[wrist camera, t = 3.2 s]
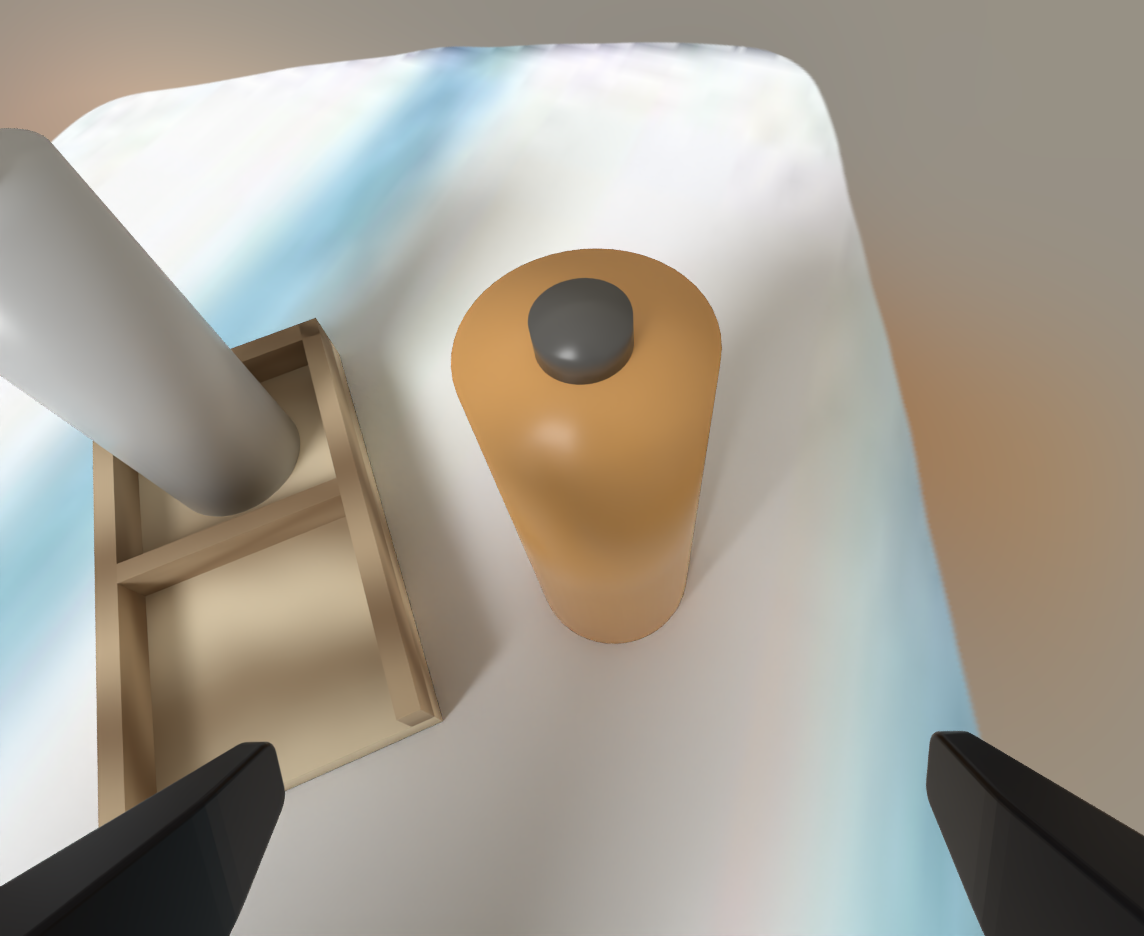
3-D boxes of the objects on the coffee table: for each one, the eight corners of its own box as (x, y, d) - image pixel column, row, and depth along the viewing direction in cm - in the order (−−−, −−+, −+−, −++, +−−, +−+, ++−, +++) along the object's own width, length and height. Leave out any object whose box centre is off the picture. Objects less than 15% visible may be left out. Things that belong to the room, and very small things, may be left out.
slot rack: (443, 721, 22) (420, 709, 20) (155, 848, 21) (98, 850, 19) (339, 353, 31) (315, 317, 29) (132, 430, 30) (92, 399, 28)
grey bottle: (238, 538, 25) (-131, 276, 13) (148, 483, 27) (-248, 208, 15) (326, 433, 27) (75, 126, 15) (237, 389, 29) (-49, 81, 17)
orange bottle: (645, 671, 22) (644, 486, 10) (515, 600, 24) (383, 370, 12) (710, 542, 24) (771, 263, 12) (585, 485, 26) (533, 192, 14)
